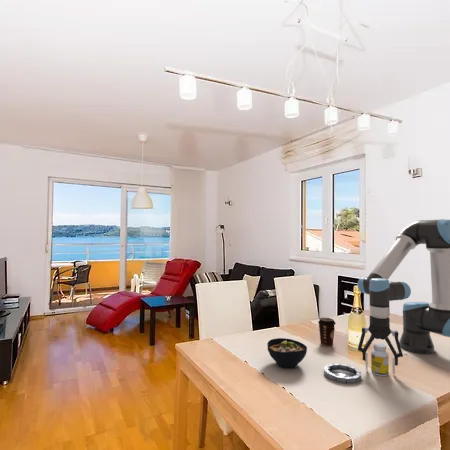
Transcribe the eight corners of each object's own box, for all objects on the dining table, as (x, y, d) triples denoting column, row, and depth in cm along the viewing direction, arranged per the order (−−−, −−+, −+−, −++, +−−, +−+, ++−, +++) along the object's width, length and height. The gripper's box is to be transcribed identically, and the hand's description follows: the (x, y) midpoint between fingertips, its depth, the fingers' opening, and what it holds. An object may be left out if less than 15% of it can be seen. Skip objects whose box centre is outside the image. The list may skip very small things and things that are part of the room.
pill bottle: (368, 370, 134) (368, 342, 134) (382, 369, 134) (382, 342, 135) (376, 377, 127) (376, 347, 128) (392, 376, 128) (391, 347, 128)
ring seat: (361, 372, 132) (361, 367, 132) (360, 386, 119) (360, 381, 119) (326, 366, 138) (326, 361, 138) (322, 379, 125) (322, 374, 125)
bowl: (283, 376, 127) (283, 351, 128) (259, 361, 143) (259, 339, 143) (315, 368, 135) (315, 345, 135) (289, 354, 150) (289, 333, 151)
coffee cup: (333, 341, 169) (333, 317, 170) (337, 347, 161) (337, 321, 161) (316, 341, 170) (316, 316, 170) (320, 346, 162) (319, 321, 162)
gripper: (408, 316, 131) (409, 371, 130) (351, 311, 140) (351, 362, 139) (411, 321, 124) (411, 379, 123) (350, 315, 133) (350, 369, 132)
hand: (379, 370), depth 131 cm, fingers open, 9 cm apart
